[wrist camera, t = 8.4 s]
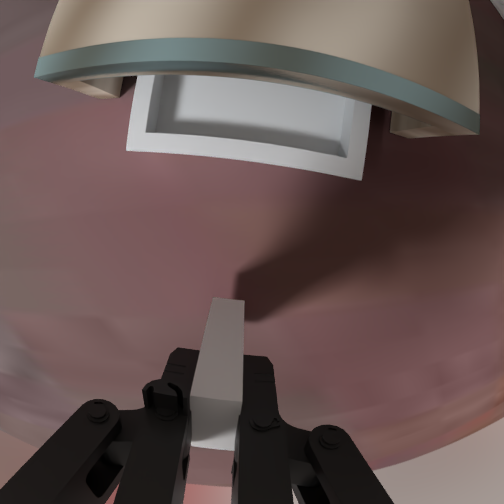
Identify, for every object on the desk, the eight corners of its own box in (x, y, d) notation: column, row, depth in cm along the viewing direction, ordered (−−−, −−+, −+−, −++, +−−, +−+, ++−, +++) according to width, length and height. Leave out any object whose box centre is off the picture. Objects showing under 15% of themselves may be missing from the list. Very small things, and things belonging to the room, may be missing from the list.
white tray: (144, 151, 13) (126, 150, 11) (194, -55, 9) (188, -77, 7) (344, 177, 14) (361, 180, 12) (360, -32, 10) (373, -51, 7)
